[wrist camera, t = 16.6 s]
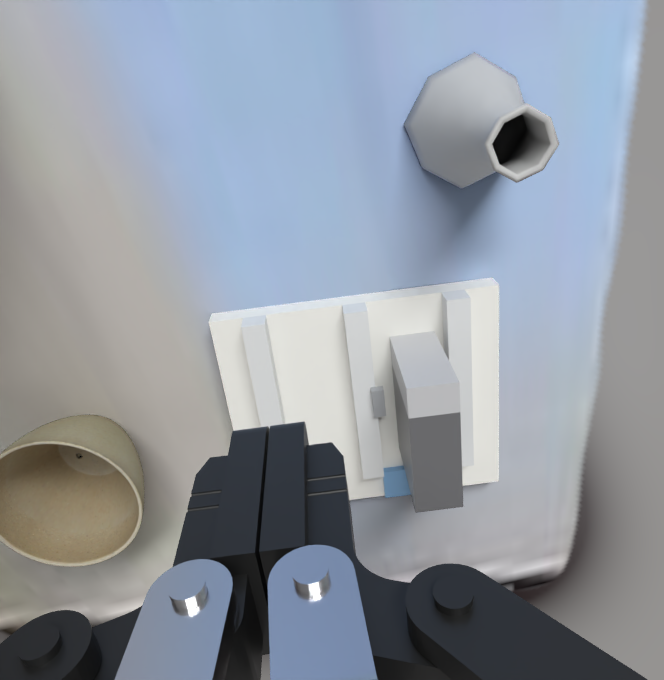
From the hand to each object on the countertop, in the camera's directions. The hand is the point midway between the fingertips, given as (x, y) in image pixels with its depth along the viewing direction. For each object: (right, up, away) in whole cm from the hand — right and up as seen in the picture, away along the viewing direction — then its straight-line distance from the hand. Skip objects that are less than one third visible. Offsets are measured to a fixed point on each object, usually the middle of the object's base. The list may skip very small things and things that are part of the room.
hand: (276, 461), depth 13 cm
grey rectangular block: (+7, -1, +29) cm, 30 cm away
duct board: (+3, -2, +31) cm, 31 cm away
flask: (+9, +16, +23) cm, 30 cm away
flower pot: (-16, -5, +32) cm, 36 cm away
